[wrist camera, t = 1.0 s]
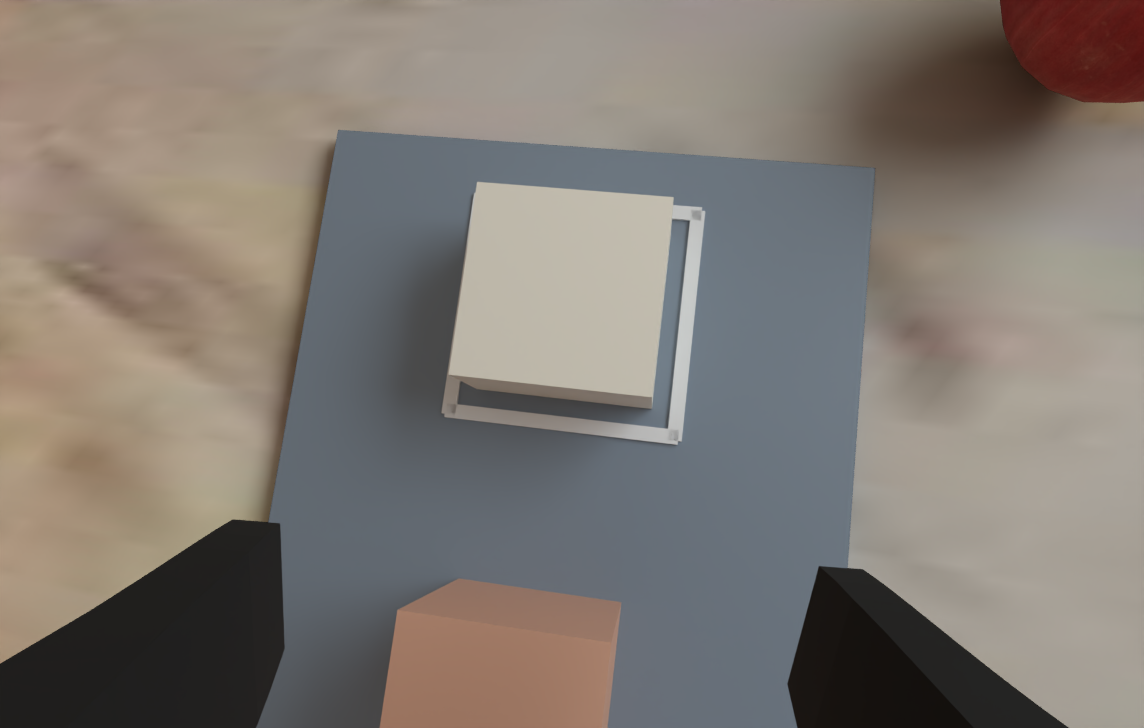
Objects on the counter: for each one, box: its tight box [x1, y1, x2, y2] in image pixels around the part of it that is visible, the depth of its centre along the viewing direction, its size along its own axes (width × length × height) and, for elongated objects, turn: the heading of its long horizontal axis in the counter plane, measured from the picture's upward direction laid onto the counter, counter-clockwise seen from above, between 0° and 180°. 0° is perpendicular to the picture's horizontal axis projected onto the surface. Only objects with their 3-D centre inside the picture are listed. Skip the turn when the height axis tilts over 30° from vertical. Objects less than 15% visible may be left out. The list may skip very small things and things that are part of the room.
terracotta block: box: [380, 579, 621, 728], centre depth 17 cm, size 4×4×5 cm
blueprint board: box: [256, 130, 875, 728], centre depth 19 cm, size 20×16×4 cm
